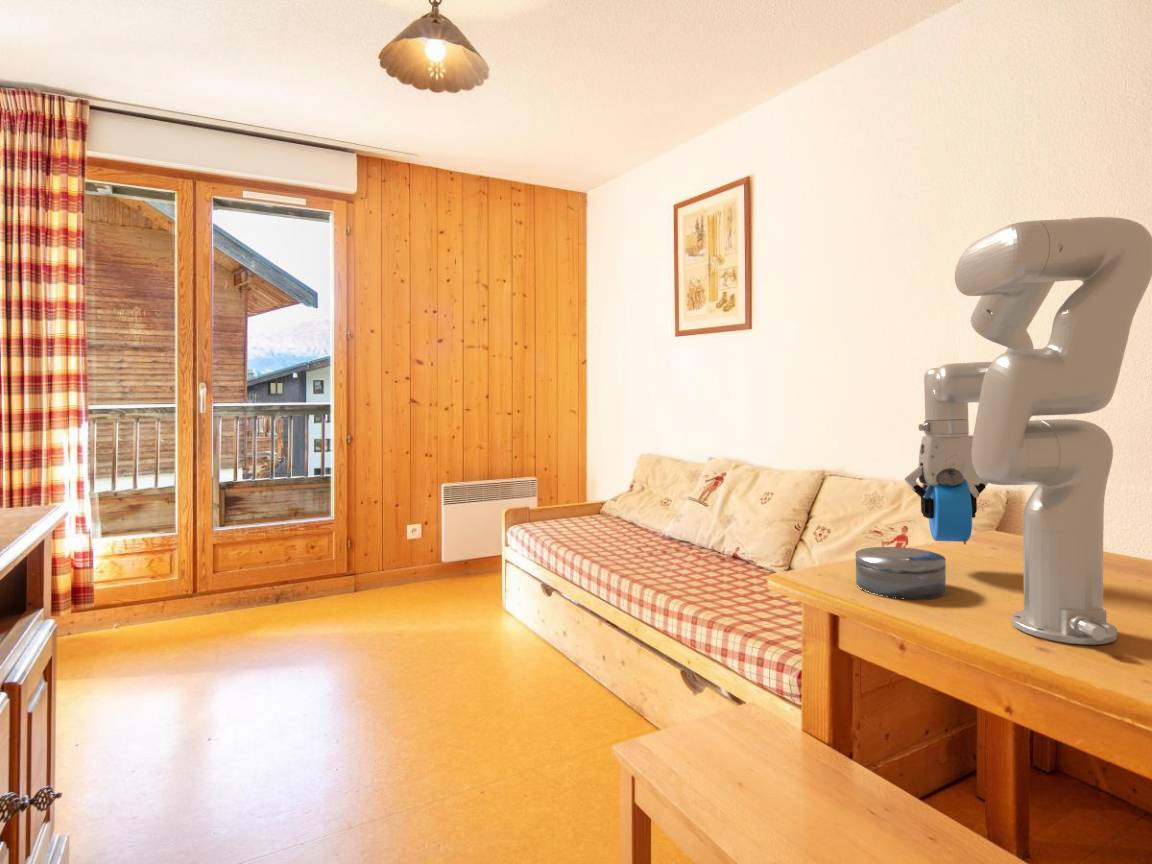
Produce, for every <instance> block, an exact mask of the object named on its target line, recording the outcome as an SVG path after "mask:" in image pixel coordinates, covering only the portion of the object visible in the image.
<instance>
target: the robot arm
mask: <svg viewBox="0 0 1152 864" xmlns="http://www.w3.org/2000/svg"><path fill="white" fill-rule="evenodd" d="M1151 279H1152V234H1151V233H1150V231H1149V230H1148V229H1147V228H1146V227H1145V226H1143V224H1141V223H1139V222H1137V221H1134V220H1131V219H1129V218H1128V219H1127V218H1123V217H1122V218H1121V217H1112V216H1095V217H1094V216H1092V217H1091V216H1090V217H1089V216H1087V217H1075V218H1074V217H1073V218H1061V219H1060V218H1059V219H1044V220H1043V219H1042V220H1039V219H1038V220H1029V221H1028V220H1027V221H1018V222H1015V223H1011V224H1008V225H1006V226H1003V227H1002V228H1000V229H998V230H995V231H994V232H992V233H990V234H988V235H986V236H984V237H982V238H980V239H977V240H976V241H975V242H973V243H971V244H970V245H969V246H968V247H967V248H966V249H965V250H964V251H963V253H962V254H961V256H960V257H959V259H958V261H957V264H956V267H955V271H954V283H955V286H956V288H957V290H958V291H959V292H960V293H961V294H962V295H964V296H969V297H980V298H979V300H978V302H977V304H976V305H975V308H974V310H973V311H972V313H971V316H970V323H971V324H970V325H971V326H972V328H973V330H974V331H975V332H976V333H977V334H978V335H979V336H981V337H982V338H984V339H985V340H987V341H991V342H992V343H995V344H998V345H999V346H1000V345H1001V346H1003V347H1005V348H1007V349H1006V350H1005V352H1004V353H1002V354H1000V355H998V356H997V357H996V358H995V359H993V361H981V362H980V361H979V362H975V361H974V362H960V363H959V362H957V363H948V364H943V365H941V366H939V367H934V368H929V369H927V370H926V371H925V372H924V375H923V376H924V378H923V384H924V387H923V388H924V421H923V423H921V424H918V430H919V431H921V432H924V434H925V435H924V436H922V438H921V441H920V448H919V454H918V467H917V468H916V469H914V470H913V471H912V472H910V473H909V474H908V475H907V476H906V477H905V478H904V481H905V483H906V484H908V486H909V487H910V489H911V490H912V491H913V492H914V493H915V494H916V495H917V496H918V497H919V498H920V512H921V514H922V516H923V517H924V518H927V519H928V520H929V519H933V518H934V503H933V499H931V495H932V493H933V486H934V485H937V484H939V483H937V479H936V478H937V475H938V474H939V473H940V472H941V471H942V470H944V469H947V468H953V469H956V470H958V471H960V472H961V473H962V475H963V476H964V479H965V480H966V481H967V483H968V486H969V490H970V496H971V504H972V519H974V518H976V513H977V512H978V510H977V507H978V505H977V503H978V502H977V499H978V498H979V497H980V494H982V492H983V491H984V490H985V489H986V487H987V485H988V484H991V485H995V486H1030V485H1031V486H1033V485H1034V486H1035V485H1036V487H1035V488H1034V490H1033V491H1032V492H1031V494H1030V496H1029V497H1028V500H1027V501H1026V503H1025V507H1024V511H1023V520H1022V521H1023V527H1022V528H1023V529H1022V531H1023V535H1022V536H1023V539H1022V542H1023V543H1022V544H1023V545H1022V547H1023V548H1022V549H1023V610H1019V611H1015V612H1014V613H1012V614H1011V624H1012V625H1013V627H1015V628H1016V629H1017V630H1019V631H1021V632H1023V633H1025V634H1027V635H1028V634H1029V635H1031V636H1034V637H1037V638H1040V639H1045V640H1049V641H1054V642H1059V643H1065V644H1072V645H1073V644H1074V645H1085V646H1087V645H1090V646H1093V645H1095V646H1096V645H1097V646H1098V645H1106V644H1110V643H1113V642H1114V641H1116V640H1117V638H1118V629H1117V627H1116V626H1115V625H1113V624H1110V623H1108V622H1107V610H1106V609H1104V527H1105V525H1104V524H1105V523H1104V522H1105V521H1104V518H1105V517H1104V516H1105V514H1104V510H1105V496H1106V489H1107V484H1108V480H1109V474H1110V472H1111V468H1112V463H1113V458H1114V457H1113V456H1114V448H1113V447H1114V445H1113V442H1112V439H1111V437H1110V436H1109V434H1108V433H1107V432H1106V430H1104V429H1103V428H1102V427H1101V426H1099V425H1097V424H1095V423H1093V422H1090V421H1087V420H1081V419H1074V418H1073V419H1071V418H1070V419H1069V418H1068V419H1067V418H1064V419H1063V418H1062V419H1060V418H1059V419H1058V418H1057V419H1055V418H1054V419H1035V420H1030V419H1031V417H1038V416H1041V417H1042V416H1064V415H1065V416H1067V415H1082V414H1090V413H1095V412H1098V411H1101V410H1102V409H1105V408H1106V407H1107V406H1108V405H1109V403H1111V400H1112V398H1113V396H1114V394H1115V390H1116V387H1117V385H1118V384H1117V383H1118V380H1119V377H1120V373H1121V368H1122V366H1123V365H1122V364H1123V360H1124V356H1125V352H1126V348H1127V344H1128V341H1129V336H1130V331H1131V327H1132V323H1133V320H1134V317H1135V314H1136V312H1137V310H1138V308H1139V305H1140V303H1141V301H1142V299H1143V297H1144V295H1145V293H1146V291H1147V289H1148V287H1149V284H1150V281H1151ZM1067 281H1068V282H1069V281H1070V282H1071V281H1080V282H1082V285H1080V286H1079V287H1077V288H1076V289H1075V290H1074V291H1073V292H1072V293H1071V294H1070V295H1069V296H1068V297H1067V298H1066V300H1065V301H1064V302H1063V303H1062V304H1061V305H1060V307H1059V308H1058V309H1057V311H1056V314H1055V316H1054V318H1053V322H1052V326H1051V334H1050V336H1049V340H1048V343H1047V345H1045V346H1044V347H1043V348H1034V344H1033V343H1034V342H1033V341H1032V338H1031V336H1030V334H1029V332H1028V331H1027V330H1028V327H1029V326H1030V325H1031V323H1032V321H1033V320H1034V318H1035V317H1036V315H1037V313H1038V311H1039V309H1040V308H1041V307H1042V305H1043V303H1044V301H1045V299H1046V298H1047V296H1048V294H1049V293H1050V291H1051V289H1052V288H1053V286H1054V285H1055V283H1056V282H1067ZM971 403H978V406H977V413H976V418H975V422H974V423H975V424H974V429H973V434H972V435H970V434H969V433H970V432H969V428H970V427H969V426H970V425H969V404H971ZM917 479H918V481H919V482H920V483H921V484H922V486H921V485H919V484H918V482H917Z"/></svg>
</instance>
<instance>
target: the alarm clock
mask: <svg viewBox="0 0 1152 864" xmlns="http://www.w3.org/2000/svg"><path fill="white" fill-rule="evenodd" d="M936 479H937V483H939V484H937V485H934V486H933V493H932V495H931V499H933V503H934V518H933V519H929V518H928V524H929V530H930V534H931V538H932V539H933V540H934V541H935V542H957V543H958V542H959V543H960V542H963V545H967V542H968V541H969V540H970V539H971V535H972V529H973V518H972V504H971V496H970V490H969V486H968V483H967V481H966V480H965V479H964V476H963V475H962V473H961V472H960V471H958V470H956V469H953V468H947V469H944V470H942V471H941V472H940V473H939V474H938V475H937V478H936Z"/></svg>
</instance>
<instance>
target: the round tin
mask: <svg viewBox="0 0 1152 864" xmlns="http://www.w3.org/2000/svg"><path fill="white" fill-rule="evenodd" d="M946 561H947V560H946V557H944V555H942V554H940V553H937V552H934V551H930V550H925V549H920V548H912V547H903V546H902V547H901V546H873V547H866V548H862V549H859V550H857V551H855V580H856V581H855V585H856V584H857V585H858V586H859V587H860V588H862V589H864V590H866V591H869V592H871V593H875V594H878V595H883V596H888V597H894V598H895V597H896V598H904V599H919V600H918V601H921V600H920V599H927V600H934V599H938V597H939V598H942V597H943V596H945V595H946V592H947V582H946V581H947V576H946V575H947V574H946V572H947V569H946V566H947V565H946ZM894 598H893V599H894ZM933 598H934V599H933ZM904 599H903V600H904Z"/></svg>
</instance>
